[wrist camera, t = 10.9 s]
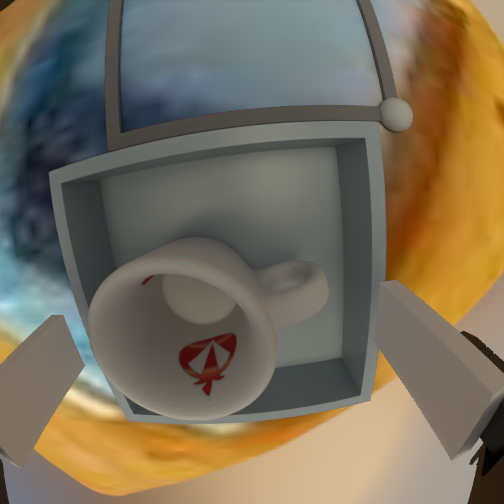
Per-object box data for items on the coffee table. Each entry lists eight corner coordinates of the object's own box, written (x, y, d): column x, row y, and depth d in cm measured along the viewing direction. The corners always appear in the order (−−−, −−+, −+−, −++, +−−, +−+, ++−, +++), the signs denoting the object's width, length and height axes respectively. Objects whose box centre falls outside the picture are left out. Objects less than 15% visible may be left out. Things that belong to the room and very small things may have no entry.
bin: (93, 171, 16) (48, 172, 11) (342, 135, 16) (377, 121, 11) (145, 378, 20) (127, 420, 16) (348, 358, 20) (370, 400, 15)
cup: (287, 189, 16) (324, 200, 9) (319, 306, 18) (359, 382, 11) (125, 245, 17) (55, 291, 9) (171, 347, 19) (141, 429, 11)
